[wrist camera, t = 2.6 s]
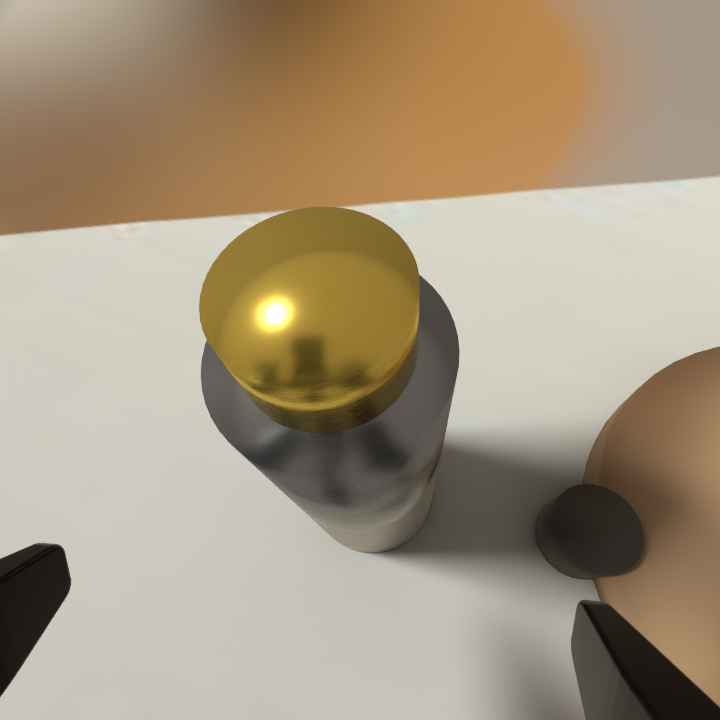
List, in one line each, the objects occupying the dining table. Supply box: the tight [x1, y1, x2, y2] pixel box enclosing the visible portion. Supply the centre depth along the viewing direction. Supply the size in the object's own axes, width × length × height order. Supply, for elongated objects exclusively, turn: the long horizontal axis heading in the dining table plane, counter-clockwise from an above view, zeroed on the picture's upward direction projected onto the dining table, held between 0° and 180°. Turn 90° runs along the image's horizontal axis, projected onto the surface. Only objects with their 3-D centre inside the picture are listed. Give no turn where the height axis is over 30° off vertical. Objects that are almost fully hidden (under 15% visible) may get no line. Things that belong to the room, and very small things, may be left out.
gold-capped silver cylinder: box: [199, 207, 459, 553], centre depth 13 cm, size 5×5×14 cm
